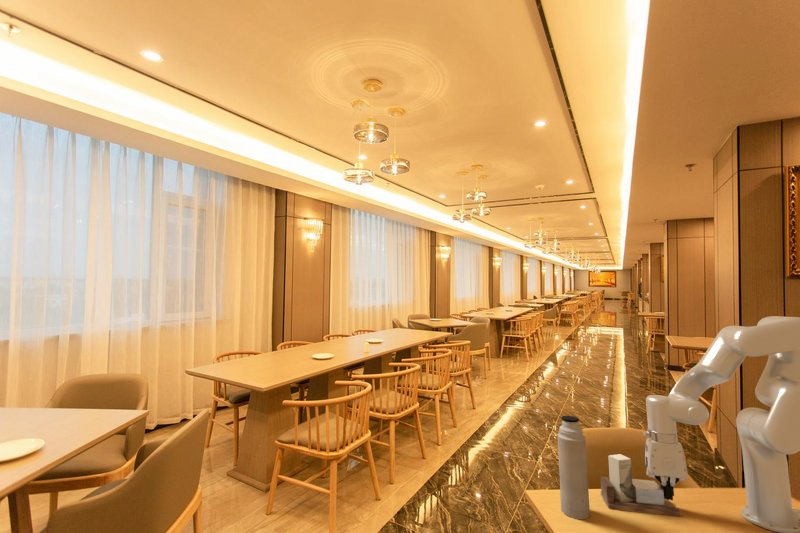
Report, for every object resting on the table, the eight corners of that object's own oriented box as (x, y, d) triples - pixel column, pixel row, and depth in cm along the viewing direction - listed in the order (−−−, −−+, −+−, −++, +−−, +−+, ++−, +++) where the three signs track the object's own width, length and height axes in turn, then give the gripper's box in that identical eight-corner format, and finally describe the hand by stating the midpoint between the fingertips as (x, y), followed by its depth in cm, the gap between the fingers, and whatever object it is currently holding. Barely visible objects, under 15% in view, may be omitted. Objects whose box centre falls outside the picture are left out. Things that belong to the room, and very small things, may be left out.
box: (621, 503, 116) (618, 460, 117) (609, 496, 120) (607, 455, 121) (634, 501, 117) (631, 458, 118) (623, 494, 121) (620, 453, 123)
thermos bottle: (585, 506, 117) (580, 414, 120) (593, 520, 109) (587, 421, 112) (558, 503, 118) (554, 412, 121) (564, 517, 110) (559, 420, 113)
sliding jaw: (655, 497, 119) (654, 480, 119) (664, 507, 113) (663, 490, 113) (629, 494, 121) (628, 478, 121) (636, 504, 114) (635, 487, 115)
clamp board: (667, 502, 119) (666, 481, 119) (680, 516, 111) (678, 494, 111) (600, 495, 123) (599, 475, 124) (608, 508, 115) (607, 487, 116)
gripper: (640, 438, 115) (645, 501, 113) (696, 442, 112) (702, 507, 110) (632, 431, 123) (636, 489, 121) (683, 434, 119) (689, 494, 117)
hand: (667, 497), depth 115 cm, fingers closed
